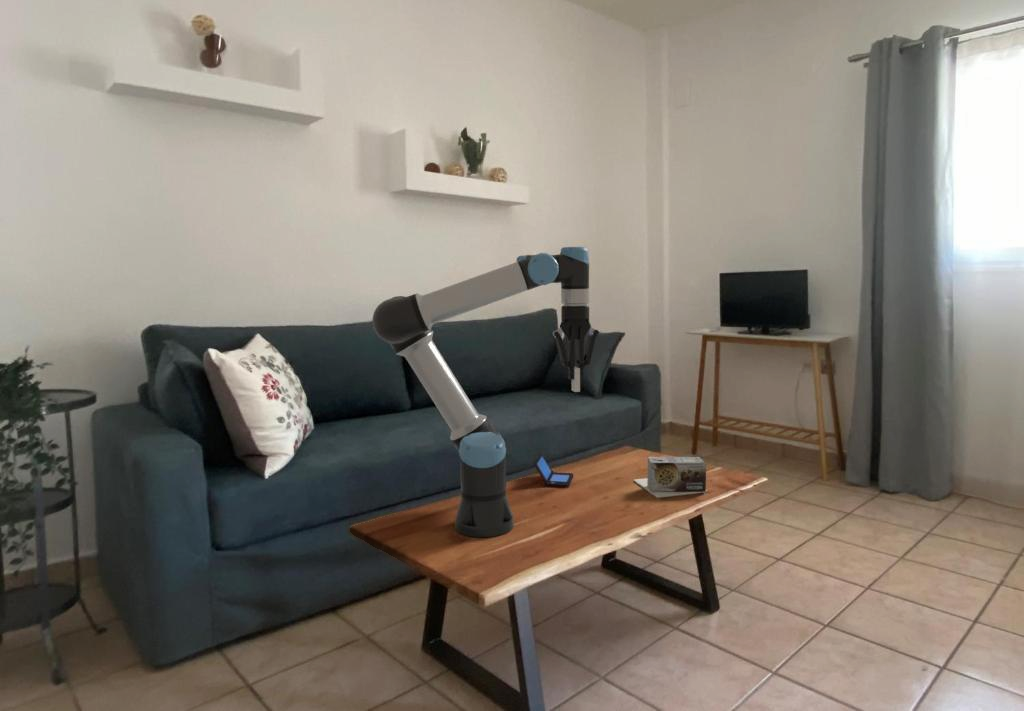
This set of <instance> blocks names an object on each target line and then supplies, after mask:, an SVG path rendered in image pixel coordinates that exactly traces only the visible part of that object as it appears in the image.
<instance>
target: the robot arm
mask: <svg viewBox="0 0 1024 711" xmlns="http://www.w3.org/2000/svg"><path fill="white" fill-rule="evenodd" d="M559 252H560V253H559V254H549V253H547V252H539V253H537V254H526V255H518V256H517V258H516V262H513V263H510V264H508V265H504V266H502V267H499V268H496V269H493V270H491V271H487V272H485V273H481V274H479V275H476V276H474V277H471V278H467V279H465V280H463V281H460V282H457V283H454V284H451V285H449V286H446V287H443V288H439V289H438V290H435V291H432V292H428V293H426V294H423V295H422V294H419V293H414V294H410V295H408V296H404V295H400V296H399V295H398V296H393V297H391V298H388V299H386V300H383V301H382V302H381V303H379V304H378V305H377V306H376V308H375V309H374V311H373V315H372V327H373V328H372V329H373V331H374V332H375V334H376V335H377V336H378V337H379V338H380V339H381V340H382V341H384V342H386V343H388V344H389V345H390V347H391V348H392V350H393V351H394V352H395V355H397V356H401V357H404V358H405V360H406V361H407V363H408V364H409V366H410V367H411V369H412V370H413V372H414V374H415V375H416V377H417V379H418V380H419V382H420V383H421V384H422V386H423V388H424V389H425V391H426V393H427V394H428V395H429V397H430V399H431V401H432V402H433V403H434V405H435V407H436V409H438V411H439V413H440V414H441V416H442V417H443V420H445V423H446V424H447V425H448V427H449V429H450V430H451V432H450V437H449V439H450V441H451V442H452V444H453V446H454V447H455V449H456V450H457V452H458V455H459V467H460V469H459V470H460V472H459V473H460V501H459V504H458V506H457V510H456V514H455V518H454V528H455V531H456V532H458V533H459V534H462V535H464V536H467V537H472V538H473V537H475V538H491V537H497V536H500V535H504V534H506V533H508V532H510V531H512V530H513V528H514V526H515V524H514V521H515V519H514V514H513V512H512V509H511V506H510V504H509V501H508V498H507V472H506V471H507V468H506V467H507V465H506V454H507V448H506V442H505V440H504V438H503V437H502V435H501V434H500V432H499V431H498V430H497V429H495V428H494V427H493V424H492V423H491V422H490V420H489V419H488V417H487V415H484V414H480V413H479V412H478V411H477V409H476V408H475V407H474V404H473V403H472V401H471V400H470V398H469V397H468V395H467V394H466V392H465V391H464V389H463V387H462V385H461V384H460V383H459V381H458V379H457V378H456V376H455V374H454V373H453V371H452V369H451V368H450V367H449V365H448V363H447V362H446V360H445V359H444V357H443V355H442V354H441V352H440V350H439V349H438V348H437V346H436V344H435V342H434V341H433V336H434V335H433V334H434V331H433V329H432V327H433V326H434V325H435V324H438V323H441V322H444V321H446V320H449V319H451V318H454V317H457V316H460V315H462V314H465V313H468V312H471V311H474V310H477V309H479V308H482V307H485V306H488V305H491V304H493V303H495V302H498V301H501V300H504V299H507V298H511V297H512V296H515V295H518V294H520V293H521V294H522V293H523V292H527V291H529V290H533V289H536V288H538V287H541V286H547V285H549V284H553V283H554V284H559V283H560V288H561V289H560V290H561V291H560V292H561V293H560V296H561V301H560V303H561V304H563V305H562V306H560V307H561V308H560V309H561V310H560V311H561V316H560V317H561V322H560V324H559V327H558V328H557V329H556V330H553V331H552V332H551V335H552V337H553V338H554V340H555V343H556V347H557V351H558V355H559V356H558V357H559V360H560V364H561V365H562V366H564V367H567V374H568V376H567V378H568V380H571V391H572V392H574V393H580V392H581V380H583V378H584V368H585V367H586V366H588V365H590V364H591V360H592V357H593V355H592V354H593V350H594V347H595V346H594V345H595V341H596V338H597V337H598V335H599V333H600V331H599V330H598V329H596V328H594V327H592V325H591V322H590V306H589V305H588V304H589V303H590V259H589V258H590V257H589V249H588V248H587V247H585V246H566V247H565V246H564V247H561V249H560V251H559ZM587 334H588V337H587V341H586V346H585V347H584V343H585V337H586V335H587ZM563 335H564V336H565V338H566V343H567V344H566V345H567V353H566V348H565V344H564V340H563ZM575 344H576V345H575ZM575 346H576V347H575ZM584 348H585V349H584ZM575 350H576V351H575ZM584 350H585V351H584ZM575 352H576V356H575ZM575 357H576V358H575ZM575 359H576V362H575ZM575 365H576V366H575Z"/></svg>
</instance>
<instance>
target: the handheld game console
mask: <svg viewBox="0 0 1024 711" xmlns="http://www.w3.org/2000/svg"><path fill="white" fill-rule="evenodd" d="M533 465H534V467H535V470H537V472H538V475H540V477H541V478H542V480H543V482H544V487H545V488H549V487H550V488H565V489H566V487H567V488H569V487H570V485H571V483H572V480H573V478H574V473H571V472H556V471H555V472H554V470H552V468H551V466H550V465H549V463H548V460H546V458H545V456H544V455H543V453H540V454H539V455H538V457H537V458H536V459H535V461H534V463H533Z"/></svg>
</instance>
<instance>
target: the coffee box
mask: <svg viewBox="0 0 1024 711" xmlns="http://www.w3.org/2000/svg"><path fill="white" fill-rule="evenodd" d="M647 478H648V479H647V486H648V488H649V489H650V491H651V492H705V493H707V492H706V490H707V484H706V483H707V462H706V461H705V459H704V457H702V456H648V457H647Z"/></svg>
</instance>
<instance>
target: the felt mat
mask: <svg viewBox="0 0 1024 711" xmlns="http://www.w3.org/2000/svg"><path fill="white" fill-rule="evenodd" d="M647 479H648V477H646V478H636V479H633V482H634V483H636V484H637V485H638V486H640V488H642V489H644V490H646V491H647V492H648V493H649V494H651V495H653V497H655V498H657V499H658V498H666V497H675V496H684V495H686V496H687V495H694V494H703V493H704V494H705V493H707V492H708V490H707V489H706V492H651V491H650V489H649V488H648V486H647Z"/></svg>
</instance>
